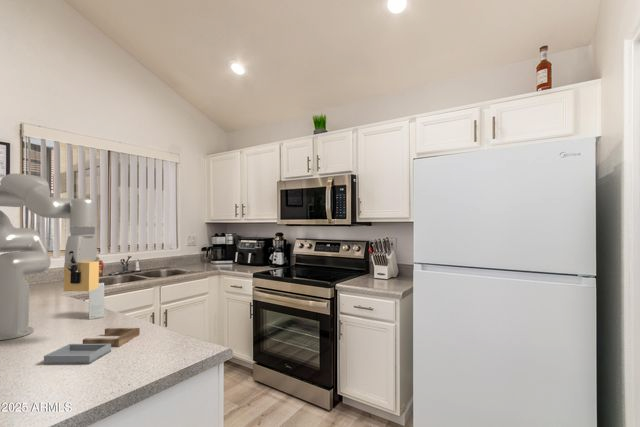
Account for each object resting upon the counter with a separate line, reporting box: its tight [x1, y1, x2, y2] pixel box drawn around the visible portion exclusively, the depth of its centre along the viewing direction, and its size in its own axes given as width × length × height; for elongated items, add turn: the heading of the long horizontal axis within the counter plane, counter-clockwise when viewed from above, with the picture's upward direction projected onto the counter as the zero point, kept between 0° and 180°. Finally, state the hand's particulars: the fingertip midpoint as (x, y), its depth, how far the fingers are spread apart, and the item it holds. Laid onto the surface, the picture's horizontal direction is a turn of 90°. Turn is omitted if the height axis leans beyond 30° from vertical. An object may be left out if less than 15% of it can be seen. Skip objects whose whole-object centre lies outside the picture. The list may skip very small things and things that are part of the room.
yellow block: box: [63, 260, 100, 292], centre depth 117 cm, size 10×5×10 cm, turn 90°
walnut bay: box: [82, 327, 141, 348], centre depth 116 cm, size 13×12×2 cm
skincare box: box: [88, 282, 105, 320], centre depth 148 cm, size 8×6×15 cm
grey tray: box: [43, 343, 112, 365], centre depth 101 cm, size 14×10×2 cm
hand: (81, 281), depth 117 cm, fingers closed on yellow block, 5 cm apart
